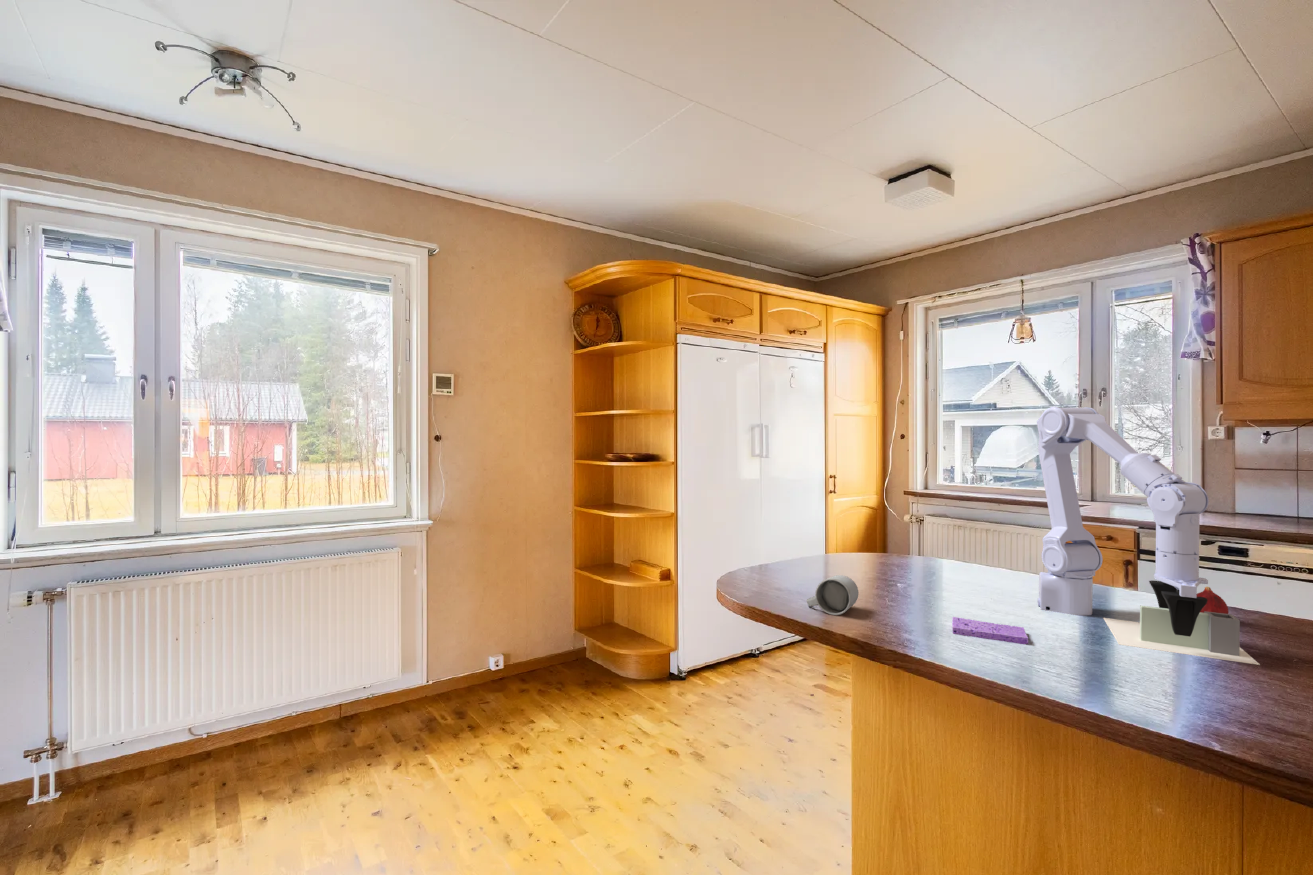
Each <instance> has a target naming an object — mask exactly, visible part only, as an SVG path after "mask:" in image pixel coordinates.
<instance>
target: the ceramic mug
mask: <svg viewBox="0 0 1313 875" xmlns="http://www.w3.org/2000/svg"><path fill="white" fill-rule="evenodd" d="M858 599H859V588H858V585H857V584H856V582H855V581H854V580H853V579H852V578H850V577H848V576H846V575H843V574H837V575H834V576H831V577H828V578H825V579H824V580H822V581H820V583H818V585H817V587H816V589H815V593H814V596H812V597H809V598H808V599H806V603H807V606H808V607H815V606H818V607H819V608H820V609H821V610H822V612H824V613H826V614H828V615H831V616H840V615H843V614H844V613H846V612H847V611H848V610H849V609H850V608H852V607H853V606H854V605H855V604H856V602H857V601H858Z"/></svg>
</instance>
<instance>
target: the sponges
mask: <svg viewBox="0 0 1313 875" xmlns="http://www.w3.org/2000/svg"><path fill="white" fill-rule="evenodd" d="M951 620H952V621H951V623H952V626H951V628H952V634H953V635H959V636H960V635H961V636H966V637H972V638H979V639H985V640H987V639H988V640H992V641H993V640H994V641H999V642H1007V643H1013V644H1020V645H1028V644H1029V637H1028V635H1027V634H1026V630H1025V627H1023V626H1022V627H1021V626H1015V625H1012V626H1011V625H1009V624H1001V623H1000V624H999V623H994V622H988V621H981V620H975V619H969V618H967V619H966V618H962V617H956V616H952V619H951Z"/></svg>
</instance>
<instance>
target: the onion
mask: <svg viewBox="0 0 1313 875" xmlns="http://www.w3.org/2000/svg"><path fill="white" fill-rule="evenodd" d="M1197 597H1205V598H1206V599H1207V604H1206V605H1205V606H1204V607H1203V608H1202V610H1201V611H1200V612H1201V613H1204V611H1206V612H1215V613H1223V614H1230V613H1229V607H1228V604H1227V603H1226V601H1225V600H1224V599H1223V598H1222V597H1221V595H1220V596H1219V595H1218V594H1217V593H1215V592H1214V591H1213V590H1212V588H1211V587H1210V586H1205V587H1204V590H1203V591H1200V592H1198V593H1197Z"/></svg>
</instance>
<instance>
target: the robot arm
mask: <svg viewBox="0 0 1313 875" xmlns="http://www.w3.org/2000/svg"><path fill="white" fill-rule="evenodd" d="M1036 425H1037V430H1038V431H1037V432H1038V437H1039V439H1038V446H1037V447H1038V448H1037V449H1038V451H1037V452H1038V456H1039V462H1040V467H1041V468H1040V469H1041V474H1042V479H1043V480H1042V481H1043V485H1044V491H1045V497H1046V503H1047V509H1048V514H1049V518H1050V519H1049V521H1050V526H1051V527H1050V528H1051V529H1050V530H1049V531H1048V532H1047V534H1045V535H1044V536H1043V537H1042V539H1041V540H1042V551H1041V561H1042V563H1043V566H1044V567H1045V569H1046V570H1047V572H1045V571H1040V572H1039V574H1038V576H1039V577H1038V597H1037V607H1038V608H1040V610H1041V611H1044V612H1045V611H1048V612H1055V613H1061V614H1067V615H1073V616H1085V617H1086V616H1091V615H1092V614H1093V589H1094V588H1093V581H1094V580H1093V577H1095V576H1096V572H1097V571H1098V570H1099V569H1100V568H1101V567H1102V564H1103V559H1104V558H1103V554H1102V551H1101V550H1100V548H1099V547H1098V546H1097V543H1096V539H1095V536H1094V535H1093V534H1092V533H1091V532H1089V530H1087V529H1085V527H1084V525H1083V520H1082V519H1083V518H1082V515H1081V514H1082V513H1081V508H1080V504H1079V497H1078V492H1077V487H1076V480H1075V476H1074V470H1073V465H1072V464H1073V463H1072V459H1071V453H1072V452H1073V451H1074V450H1075V448H1077V447H1078V446H1079V445H1081V444H1083V443H1084V442H1086V441H1089V442H1091V443H1092V444H1093V445H1094V446H1096V447H1097V448H1098V449H1100V450H1102V452H1103V453H1105V454H1106V455H1108V456H1109V457H1110V458H1111V459H1113V460H1114V461H1115V462H1116V463H1117V464H1119V465H1120V474H1121V475H1122V477H1124V478H1125V479H1127V481H1129V483H1130V484H1132V485H1133V486H1134V487H1135V488H1137V489H1138V490H1139V491H1140V492H1141V493H1142V494H1143V495H1144V496H1145V497H1146V502H1147V503H1146V504H1147V505H1148V508H1149V509H1150V510H1151V512H1152V514H1153V522H1154V523H1155V572H1154V573H1153V578H1154V580H1148V582H1149V585H1150V586H1151V588H1152V590H1153V592H1154V594H1155V598H1156V600H1157V605H1158V608H1167V609H1169V612H1170V618H1171V624H1172V629H1173V632H1174V634H1175V635H1182V636H1189V637H1190V636H1191V634H1192V632H1193V629H1194V626H1195V622H1196V619H1197V617H1198V615H1199V613H1200V611H1201V610H1202V608H1203V607H1204V606H1205V605H1206V604H1207V599H1206V598H1205V597H1197V592H1198V591H1197V588H1198V587H1199V586H1200V585H1201V584H1202V585H1208V584H1209V579H1207V578H1206V577H1205V578H1204V577H1200V520H1201V519H1200V514H1202V513H1204V512H1206V510H1207V508H1208V506H1209V502H1210V501H1209V495H1208V494H1207V492H1206V490H1205V489H1204V488H1203V487H1202V486H1201V484H1199V483H1196V482H1192V481H1190V482H1189V481H1185V480H1183V477H1182V476H1181V475H1179V474H1177V473H1176V474H1175V473H1174V472H1173V471H1172V470H1170V469H1169V468H1168V467H1167V466H1165V465H1164V464H1163V463H1162V462H1161V460H1162V458H1160V457H1159V456H1158V455H1157V454H1150V453H1149V452H1138V451H1137V450H1136V449H1134V447H1133V446H1131V445H1130V444H1129V442H1127V441H1126V440H1125V439H1124V438H1123V437H1122V436H1121V435H1120V434H1119V433H1117V431H1115V429H1113V428H1112V427H1111V426H1110V424H1108V423H1107V420H1106V416H1105V415H1103V414H1100V413H1099V412H1098V410H1096V409H1095V408H1093V407H1087V406H1086V407H1085V406H1084V407H1060V406H1051V407H1048V408H1046V409H1045V410H1044V411H1043V412H1042V413H1041V415H1040V417H1038V419H1037V420H1036ZM1048 608H1049V609H1048Z"/></svg>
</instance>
